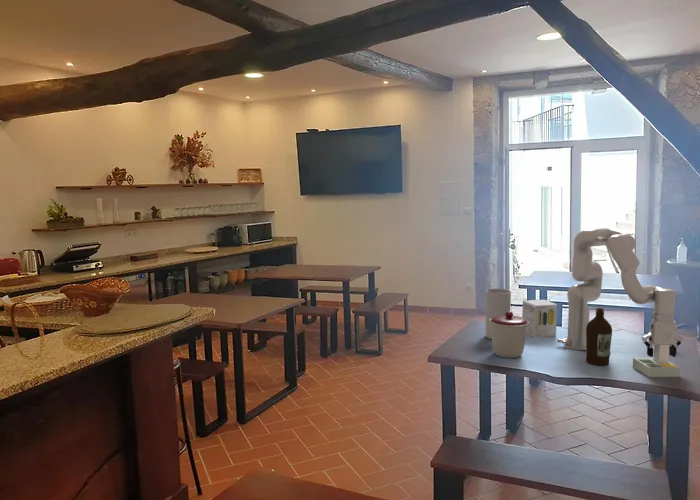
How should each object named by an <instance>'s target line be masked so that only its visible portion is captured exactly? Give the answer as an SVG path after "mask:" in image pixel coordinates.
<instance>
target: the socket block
mask: <svg viewBox="0 0 700 500" xmlns="http://www.w3.org/2000/svg"><path fill="white" fill-rule="evenodd" d="M632 367H633V368H634V369H635V370H637V371H639V372H640V373H642V374H643V375H644V376H645V377H647V378H680V377H681V367H680V366H678V365H676V364H675V363H673V362H671V361H669V360H668V363H657V362H655V361H654V357H632Z"/></svg>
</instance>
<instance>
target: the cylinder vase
mask: <svg viewBox="0 0 700 500" xmlns="http://www.w3.org/2000/svg"><path fill="white" fill-rule="evenodd" d="M485 291H486V292H485V293H486V294H485V327H484V332H485V333H484V335H485V336H484V337H486V338H487V339H490V340H492V334H491V323H490V322H489V319H491V318H493V317H494V316H498V315H505V313H506V312H507V311H511V308H512V307H511V306H512V305H511V303H512V302H511V301H512V300H511V299H512V297H511V296H512V290H510V289H505V288H487V289H486V290H485Z"/></svg>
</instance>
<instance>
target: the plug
mask: <svg viewBox="0 0 700 500" xmlns="http://www.w3.org/2000/svg"><path fill="white" fill-rule="evenodd" d="M669 357H670V348H669V344H667V345H659V344H655V345H654V346H653V358H654V361H655V362H657V363H668V361H669V359H670V358H669Z"/></svg>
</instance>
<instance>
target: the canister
mask: <svg viewBox="0 0 700 500" xmlns="http://www.w3.org/2000/svg"><path fill="white" fill-rule="evenodd" d="M489 322H490V323H491V334H492V339H491V342H492V343H491V344H492V349H493V353H494V354H495V355H497V356H498V357H502V358H506V359H507V358H508V359H515V358H516V359H517V358H519V357H521V356H522V355H523V353H524V350H525V344H526V338H527V334H526V333H527V325H528V324H529V321H527V320H526V319H524V318H522V316H519V315H514V313H513V312H512V311H511V310H510V311H507V312H506V313H505V315H498V316H494V317H493V318H491V319H489Z"/></svg>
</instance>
